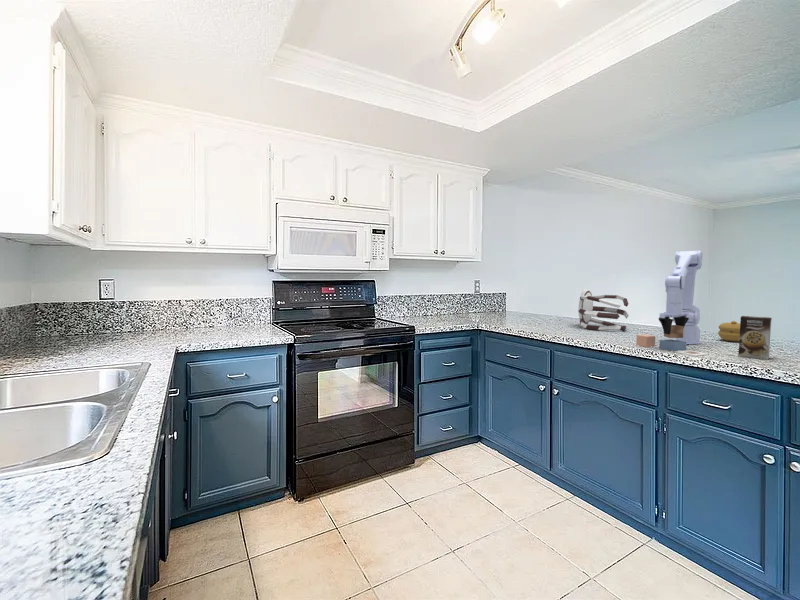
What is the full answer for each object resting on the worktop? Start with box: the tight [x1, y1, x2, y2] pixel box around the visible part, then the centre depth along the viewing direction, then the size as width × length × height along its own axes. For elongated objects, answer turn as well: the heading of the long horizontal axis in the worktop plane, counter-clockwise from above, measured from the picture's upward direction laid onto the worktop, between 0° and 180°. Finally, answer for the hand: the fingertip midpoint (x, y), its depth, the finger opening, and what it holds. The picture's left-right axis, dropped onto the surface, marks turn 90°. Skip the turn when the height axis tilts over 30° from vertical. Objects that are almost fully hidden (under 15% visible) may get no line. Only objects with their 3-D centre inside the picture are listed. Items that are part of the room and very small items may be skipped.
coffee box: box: [737, 315, 773, 360], centre depth 159 cm, size 9×6×16 cm
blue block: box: [659, 338, 687, 352], centre depth 177 cm, size 7×7×4 cm
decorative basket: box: [577, 288, 629, 332], centre depth 245 cm, size 24×27×35 cm
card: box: [675, 350, 709, 357], centre depth 167 cm, size 8×8×1 cm
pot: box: [717, 320, 740, 343], centre depth 196 cm, size 12×12×10 cm
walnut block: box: [663, 324, 683, 339], centre depth 176 cm, size 5×5×5 cm
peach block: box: [635, 334, 656, 348], centre depth 185 cm, size 5×5×5 cm
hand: (673, 333), depth 176 cm, fingers closed on walnut block, 7 cm apart
